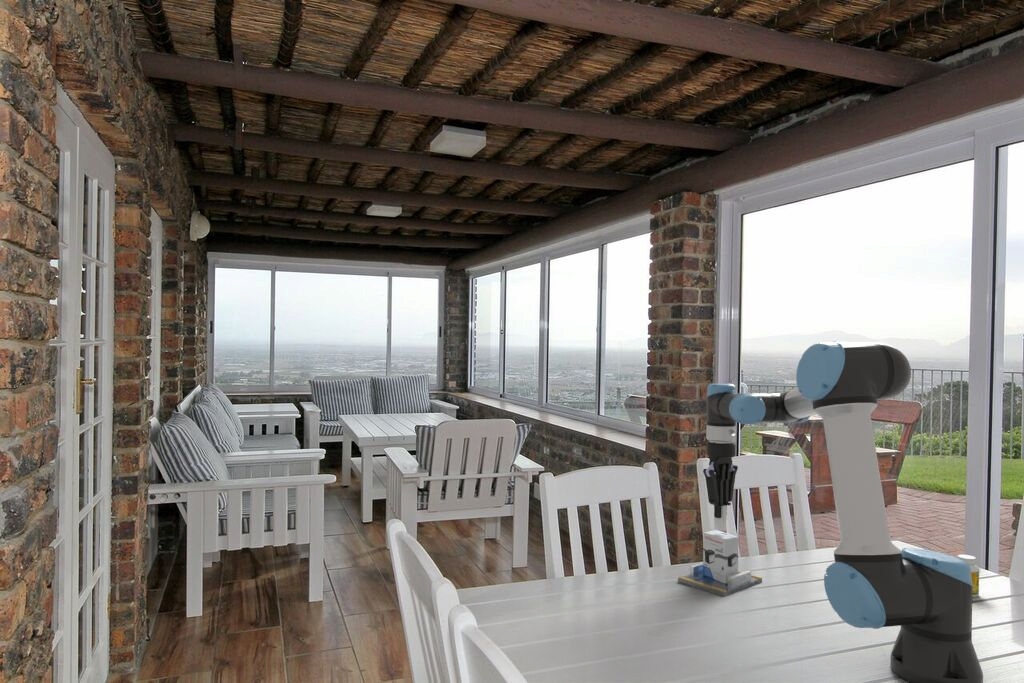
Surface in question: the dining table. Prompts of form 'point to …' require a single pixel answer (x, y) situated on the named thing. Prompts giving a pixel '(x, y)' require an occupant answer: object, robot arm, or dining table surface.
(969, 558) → the supplement bottle
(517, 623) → the dining table surface
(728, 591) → the grey tray
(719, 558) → the ink box
